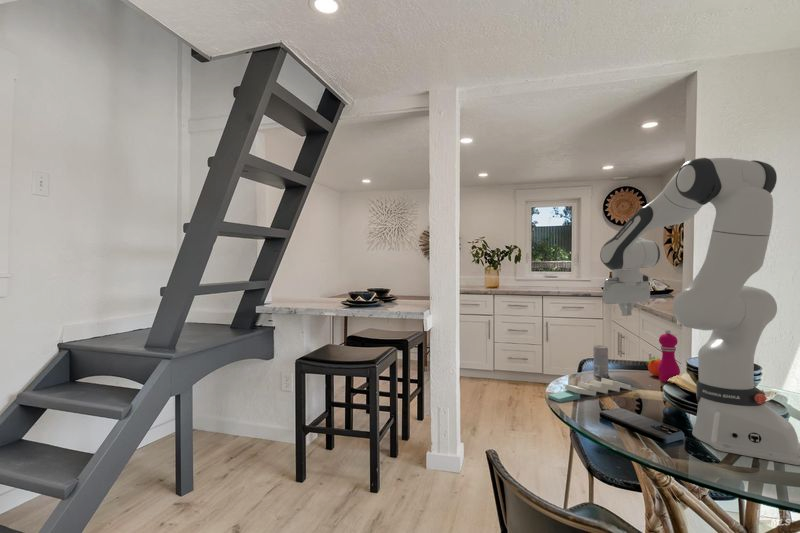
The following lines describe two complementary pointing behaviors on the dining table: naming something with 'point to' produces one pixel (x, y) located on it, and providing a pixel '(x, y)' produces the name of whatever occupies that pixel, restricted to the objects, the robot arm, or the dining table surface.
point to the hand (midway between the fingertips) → (626, 315)
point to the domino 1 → (564, 396)
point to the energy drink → (600, 361)
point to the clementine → (654, 366)
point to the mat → (584, 396)
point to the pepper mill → (668, 357)
